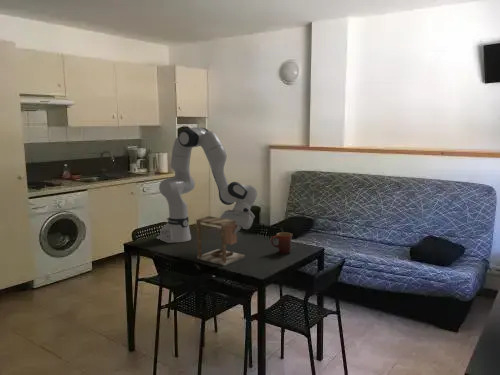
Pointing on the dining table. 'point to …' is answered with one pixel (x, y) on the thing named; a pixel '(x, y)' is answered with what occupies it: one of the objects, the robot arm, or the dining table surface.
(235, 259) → the dock
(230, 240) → the block
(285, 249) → the mug
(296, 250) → the dining table surface
